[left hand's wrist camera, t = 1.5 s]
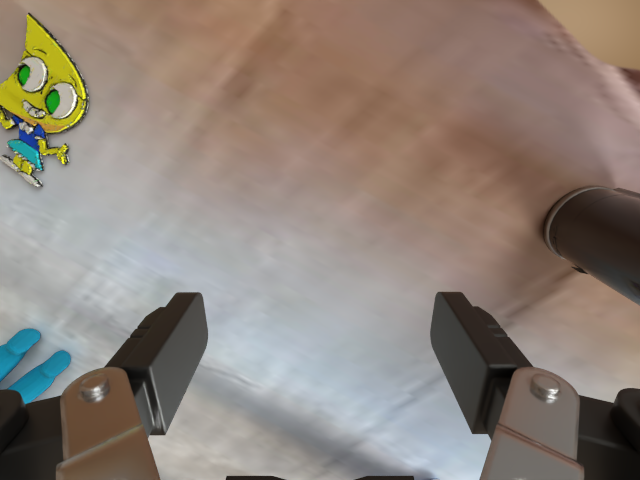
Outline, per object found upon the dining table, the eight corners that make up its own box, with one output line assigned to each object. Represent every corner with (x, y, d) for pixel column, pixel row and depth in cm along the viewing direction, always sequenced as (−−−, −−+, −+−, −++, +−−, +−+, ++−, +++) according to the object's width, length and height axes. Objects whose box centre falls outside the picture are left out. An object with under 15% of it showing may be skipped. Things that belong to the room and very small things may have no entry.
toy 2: (-46, 127, 36) (21, 10, 32) (-38, 127, 37) (29, 12, 33) (42, 193, 39) (114, 92, 35) (48, 192, 39) (119, 93, 36)
